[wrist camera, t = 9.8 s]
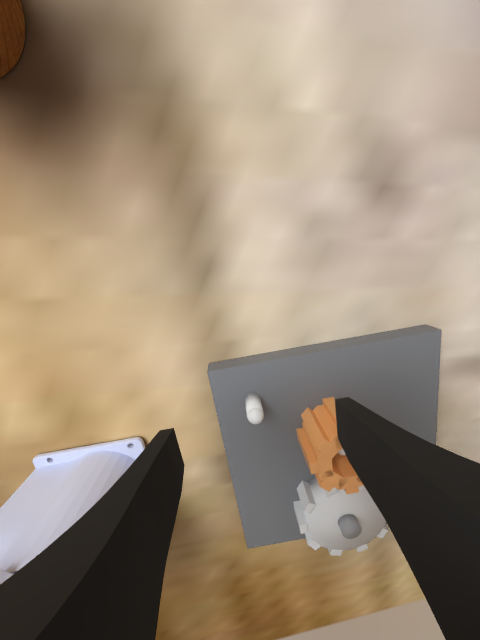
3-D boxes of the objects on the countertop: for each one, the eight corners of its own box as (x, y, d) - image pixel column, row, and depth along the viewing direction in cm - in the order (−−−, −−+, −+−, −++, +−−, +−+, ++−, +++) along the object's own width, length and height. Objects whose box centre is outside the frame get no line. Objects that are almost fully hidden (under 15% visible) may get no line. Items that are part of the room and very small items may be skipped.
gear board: (246, 531, 25) (250, 586, 21) (208, 363, 20) (203, 391, 16) (420, 500, 25) (458, 549, 21) (426, 324, 20) (477, 342, 16)
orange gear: (300, 460, 21) (314, 500, 18) (292, 404, 20) (306, 435, 16) (365, 449, 21) (391, 486, 18) (362, 391, 20) (391, 420, 16)
